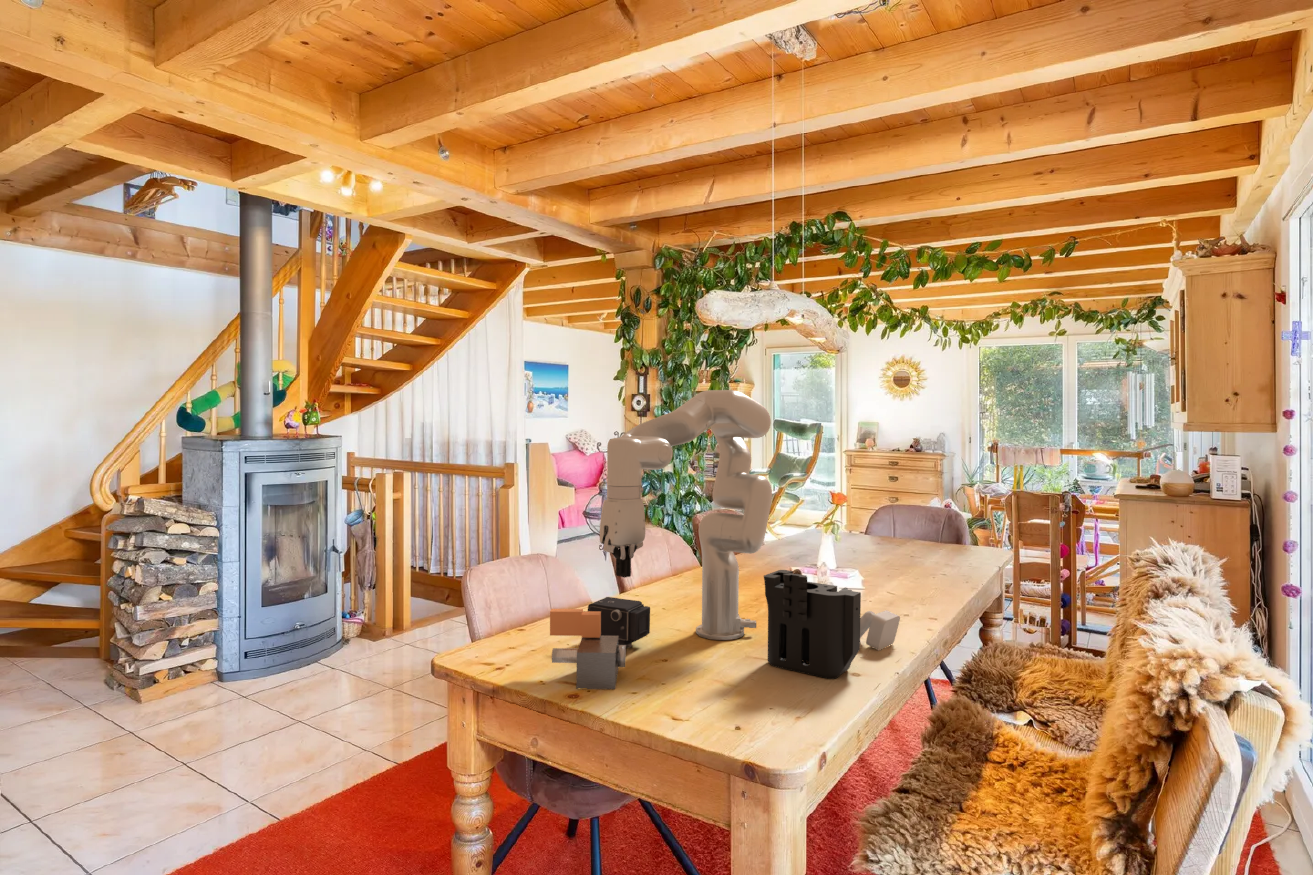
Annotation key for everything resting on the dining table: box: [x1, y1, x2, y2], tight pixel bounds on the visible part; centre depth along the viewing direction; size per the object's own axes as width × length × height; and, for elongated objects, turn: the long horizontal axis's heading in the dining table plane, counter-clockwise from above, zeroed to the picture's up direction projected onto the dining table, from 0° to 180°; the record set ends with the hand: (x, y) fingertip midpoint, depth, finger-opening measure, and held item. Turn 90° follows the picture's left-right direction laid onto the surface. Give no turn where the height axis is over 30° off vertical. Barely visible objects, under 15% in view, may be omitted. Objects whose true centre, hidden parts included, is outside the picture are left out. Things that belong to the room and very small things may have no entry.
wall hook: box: [860, 609, 901, 651], centre depth 184 cm, size 8×10×10 cm
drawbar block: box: [576, 636, 619, 690], centre depth 158 cm, size 8×12×8 cm, turn 0°
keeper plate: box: [549, 608, 601, 638], centre depth 163 cm, size 11×3×6 cm, turn 90°
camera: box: [587, 596, 651, 649], centre depth 182 cm, size 11×11×15 cm
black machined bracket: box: [763, 569, 862, 680], centre depth 164 cm, size 12×21×22 cm, turn 54°
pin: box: [551, 645, 627, 668], centre depth 158 cm, size 16×5×5 cm, turn 90°
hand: (623, 575), depth 162 cm, fingers closed
